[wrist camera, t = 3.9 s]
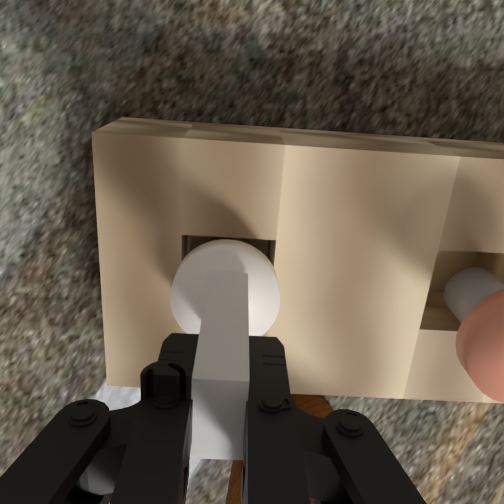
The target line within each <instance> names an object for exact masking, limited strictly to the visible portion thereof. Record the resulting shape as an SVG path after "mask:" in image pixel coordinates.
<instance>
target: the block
mask: <svg viewBox="0 0 504 504" xmlns="http://www.w3.org/2000/svg"><path fill="white" fill-rule="evenodd" d="M91 134H92V150H93V166H94V182H95V198H96V214H97V230H98V246H99V262H100V279H101V295H102V311H103V327H104V343H105V359H106V375H107V386H127V387H141V384H140V373H141V372H142V370H143V369H144V368H145V367H146V366H148V365H149V364H151V363H154V362H157V361H158V357H159V354H160V350H161V347H162V343H163V341H164V340H165V339H166V338H167V337H168V336H169V335H170V334H171V333H186V332H185V331H184V330H183V329H182V328H181V327H180V326H179V324H178V323H177V321H176V319H175V318H174V315H173V313H172V309H171V305H170V293H171V288H172V284H173V281H174V278H175V275H176V272H177V269H178V267H179V265H180V263H181V261H182V260H183V259H184V258H185V256H186V255H187V254H188V253H189V252H191V251H192V250H193V249H195V248H196V247H198V246H200V245H202V244H204V243H207V242H208V241H209V240H210V239H211V238H212V237H230V238H246V239H247V240H248V241H249V242H250V244H251V246H253V247H255V248H257V249H258V250H259V251H261V252H262V253H263V254H264V255H265V256H266V257H267V258H268V259H269V261H270V262H271V264H272V265H273V267H274V269H275V272H276V275H277V279H278V286H279V292H280V307H279V312H278V315H277V317H276V319H275V321H274V323H273V324H272V326H271V327H270V328H269V329H268V331H267V332H266V333H265V334H263V335H262V336H267V337H277V338H278V339H279V340H280V342H281V343H282V344H283V345H284V349H285V358H286V364H287V365H286V366H287V371H288V379H289V386H290V393H291V394H308V395H330V396H353V397H375V398H398V399H420V400H443V401H466V402H488V403H503V402H499V401H496V400H493V399H492V398H490V397H488V396H486V395H485V394H484V393H482V392H481V391H480V390H479V389H478V387H477V386H476V385H475V383H474V382H473V380H472V379H471V378H470V376H469V375H468V373H467V372H466V371H465V369H464V368H463V366H462V365H461V364H460V361H459V359H458V357H457V353H456V336H457V332H458V329H459V327H460V325H461V322H460V321H459V320H458V319H457V318H456V316H455V315H454V314H453V313H452V311H451V310H450V309H449V308H448V307H447V305H446V303H445V301H444V289H445V286H446V284H447V282H448V281H449V280H450V278H451V277H452V276H453V275H455V274H456V273H457V272H459V271H461V270H463V269H466V268H470V267H480V268H484V269H486V270H488V271H490V272H491V273H492V274H493V275H494V276H496V277H497V278H498V279H499V280H500V281H501V282H502V283H504V143H499V142H484V141H470V140H455V139H440V138H425V137H410V136H396V135H381V134H366V133H351V132H337V131H322V130H307V129H292V128H277V127H263V126H248V125H233V124H218V123H204V122H189V121H174V120H159V119H144V118H130V117H122V118H120V119H117V120H115V121H113V122H111V123H109V124H107V125H105V126H103V127H101V128H99V129H97V130H95V131H93V132H91Z"/></svg>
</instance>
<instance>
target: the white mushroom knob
mask: <svg viewBox="0 0 504 504" xmlns="http://www.w3.org/2000/svg"><path fill="white" fill-rule="evenodd" d="M210 271H212V272H230V273H248V307H249V336H262V335H263V334H265V333H266V332H267V331H268V329H269V328H270V327H271V326H272V324H273V323H274V321H275V319H276V317H277V315H278V312H279V307H280V292H279V286H278V279H277V275H276V272H275V269H274V267H273V265H272V264H271V262H270V261H269V259H268V258H267V257H266V256H265V255H264V254H263V253H262V252H261V251H259V250H258V249H257V248H255V247H253V246H251V244H250V242H249V241H248V240H247V239H246V238H230V237H212V238H211V239H210V240H209V241H208V242H207V243H204V244H202V245H200V246H198V247H196V248H195V249H193V250H192V251H191V252H189V253H188V254H187V255H186V256H185V258H184V259H183V260H182V261H181V263H180V265H179V267H178V269H177V272H176V275H175V278H174V281H173V284H172V288H171V293H170V305H171V309H172V313H173V315H174V318H175V319H176V321H177V323H178V324H179V326H180V327H181V328H182V329H183V330H184V331H185V332H186V333H187V334H199V332H200V326H201V320H202V314H203V308H204V302H205V296H206V290H207V284H208V278H209V272H210Z"/></svg>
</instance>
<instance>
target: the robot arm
mask: <svg viewBox="0 0 504 504" xmlns="http://www.w3.org/2000/svg"><path fill="white" fill-rule="evenodd" d="M286 365H287V364H286V358H285V349H284V345H283V344H282V343H281V342H280V340H279V339H278V338H277V337H267V336H249V307H248V273H230V272H212V271H210V272H209V278H208V284H207V290H206V296H205V302H204V308H203V314H202V320H201V326H200V332H199V334H187V333H171V334H170V335H169V336H168V337H167V338H166V339H165V340H164V341H163V343H162V347H161V350H160V354H159V357H158V361H157V362H154V363H151V364H149V365H148V366H146V367H145V368H144V369H143V370H142V372H141V373H140V384H141V401H139V402H138V403H136V404H134V405H132V406H130V407H126V408H123V409H118V410H112V411H109V408H108V406H107V405H106V404H105V403H103V402H101V401H98V400H93V399H84V400H79V401H75V402H73V403H70V404H68V405H66V406H65V407H64V408H63V409H61V410H60V411H59V412H58V413H57V414H56V415H55V417H54V418H53V419H52V420H51V421H50V422H49V423H48V424H47V426H46V427H45V428H44V429H43V430H42V431H41V432H40V433H39V435H38V436H37V437H36V438H35V439H34V440H33V441H32V442H31V444H30V445H29V446H28V447H27V448H26V449H25V450H24V451H23V453H22V454H21V455H20V456H19V457H18V458H17V459H16V460H15V462H14V463H13V464H12V465H11V466H10V467H9V468H8V469H7V471H6V472H5V473H4V474H3V475H2V476H1V477H0V504H109V502H110V504H185V500H186V493H187V485H188V477H189V458H199V459H224V460H243V467H242V479H241V491H240V496H241V497H242V498H241V504H310V498H312V499H313V504H426V502H425V501H424V499H423V498H422V496H421V495H420V493H419V492H418V490H417V489H416V487H415V486H414V484H413V483H412V481H411V480H410V478H409V477H408V475H407V474H406V472H405V471H404V469H403V468H402V466H401V465H400V463H399V462H398V460H397V459H396V457H395V456H394V454H393V453H392V451H391V450H390V448H389V447H388V445H387V444H386V442H385V441H384V439H383V438H382V436H381V435H380V433H379V432H378V431H377V429H376V428H375V426H374V425H373V423H372V422H371V421H370V420H369V419H368V418H367V417H366V416H364V415H362V414H360V413H359V412H356V411H352V410H349V409H338V410H335V411H332V412H330V413H329V414H328V415H327V416H326V418H325V419H323V418H320V417H316V416H313V415H310V414H308V413H306V412H304V411H302V410H301V409H300V408H298V407H297V406H296V404H295V402H294V400H293V399H292V398H291V393H290V386H289V379H288V371H287V366H286ZM309 497H310V498H309Z"/></svg>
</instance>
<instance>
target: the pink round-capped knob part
mask: <svg viewBox="0 0 504 504" xmlns="http://www.w3.org/2000/svg"><path fill="white" fill-rule="evenodd" d="M444 301H445V303H446V305H447V307H448V308H449V309H450V310H451V311H452V313H453V314H454V315H455V316H456V318H457V319H458V320H459V321H460V322H461V325H460V327H459V329H458V332H457V336H456V353H457V357H458V359H459V361H460V364H461V365H462V366H463V368H464V369H465V371H466V372H467V373H468V375H469V376H470V378H471V379H472V380H473V382H474V383H475V385H476V386H477V387H478V389H479V390H480V391H481V392H482V393H484V394H485V395H486V396H488V397H490V398H492V399H493V400H496V401H499V402H503V403H504V283H502V282H501V281H500V280H499V279H498V278H497V277H496V276H494V275H493V274H492V273H491V272H490V271H488V270H486V269H484V268H480V267H470V268H466V269H463V270H461V271H459V272H457V273H456V274H455V275H453V276H452V277H451V278H450V280H449V281H448V282H447V284H446V286H445V289H444Z"/></svg>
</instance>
